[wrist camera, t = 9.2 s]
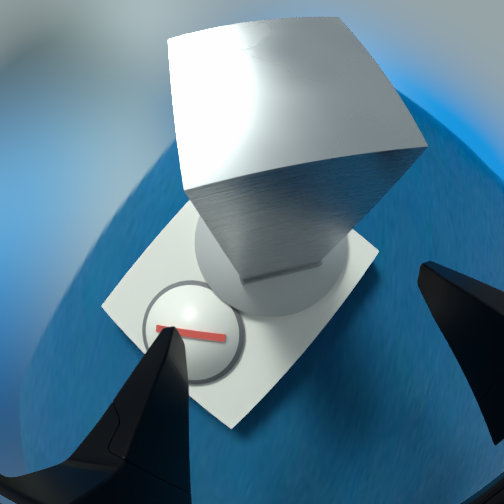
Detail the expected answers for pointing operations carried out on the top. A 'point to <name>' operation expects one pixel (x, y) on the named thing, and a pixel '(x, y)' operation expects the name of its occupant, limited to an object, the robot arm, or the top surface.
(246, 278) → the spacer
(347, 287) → the scale
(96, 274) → the top surface
